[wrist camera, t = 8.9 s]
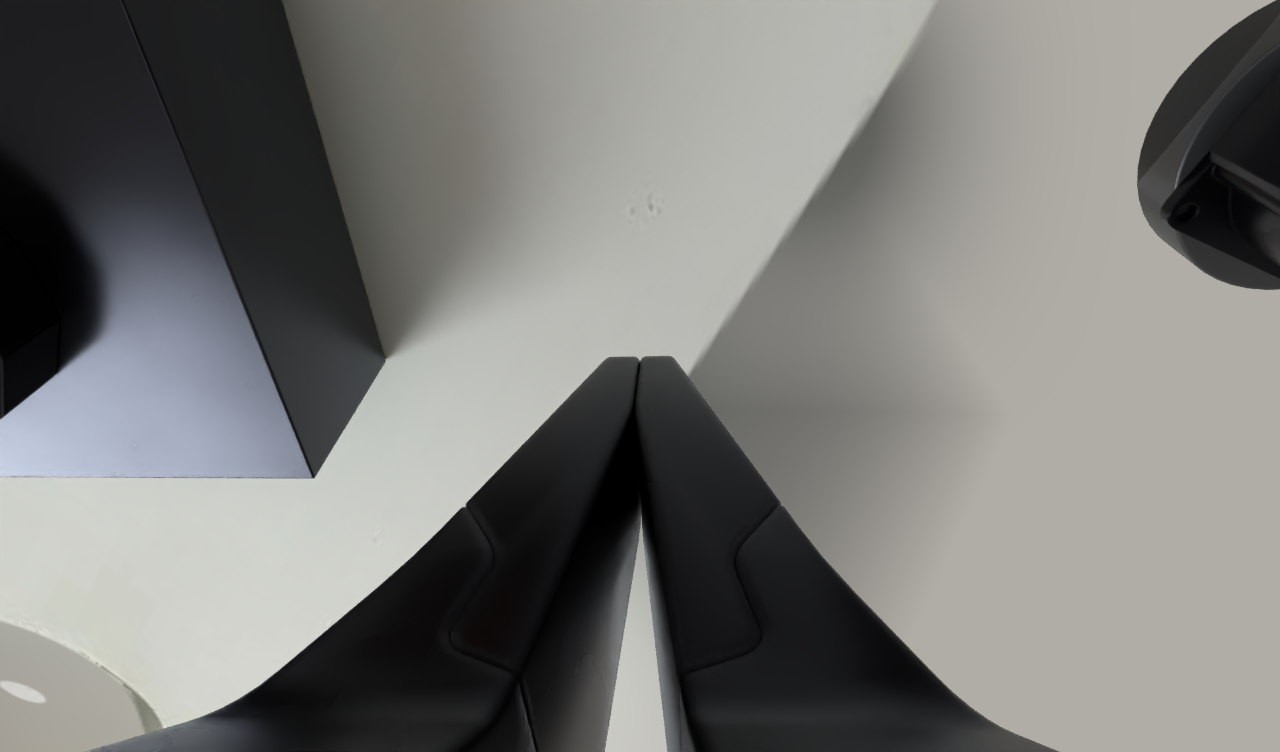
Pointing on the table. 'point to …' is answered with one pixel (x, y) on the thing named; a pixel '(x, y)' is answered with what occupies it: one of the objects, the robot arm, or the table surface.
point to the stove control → (170, 247)
